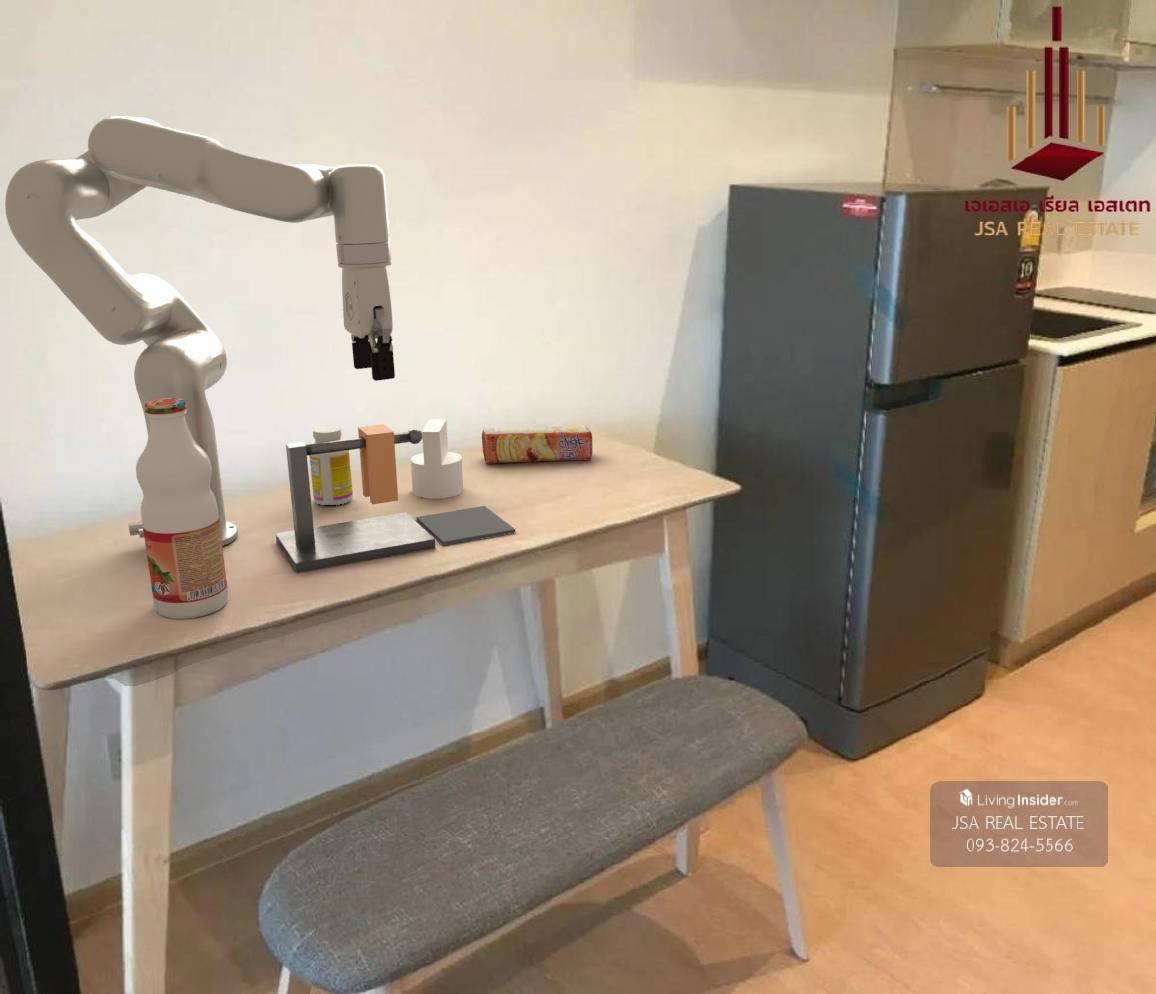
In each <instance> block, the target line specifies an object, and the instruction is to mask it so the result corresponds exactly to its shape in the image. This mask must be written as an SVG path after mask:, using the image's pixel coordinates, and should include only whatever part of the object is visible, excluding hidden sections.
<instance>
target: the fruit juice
mask: <svg viewBox="0 0 1156 994" xmlns="http://www.w3.org/2000/svg"><path fill="white" fill-rule="evenodd" d="M186 409H187V406H186V402H185V400H184V399H180V398H162V399H155V400H151V401H148V402H146V403H145V412H146V416H147V417H148V418H149V423H150V428H149V436H148V435H147V441H146V446H145V448H144V449H143V451H142V452H141V454H140V455H139V457H138V459H137V461H136V466H135V475H136V476H135V477H136V480H137V483H138V484H139V485H138V486H139V487H140V489H141V491H142V496H143V497H142V501H141V504H140V514H141V515H140V517H141V518H140V519H141V522H142V526H143V532H144V537H143V540H144V545H145V551H146V559H147V566H148V573H149V580H150V585H151V586H150V587H151V593H152V594H151V595H152V600H153V605H154V607H155V610H156V612H157V614H159V615H160V616H161V617H165V618H167V619H176V620H177V619H179V620H180V619H181V620H182V619H185V620H186V619H193V618H200V617H203V616H207V615H210V614H213V613H215V612H217V611H219V610H221V609H222V608H223V607H224V606H226V605H227V604H228V603H227V602H228V598H229V589H228V581H227V575H226V574H227V573H226V565H225V555H224V550H223V546H222V540H221V532H220V523H219V514H218V508H217V503H216V499H215V496H214V494H213V493H212V491H211V489H210V479H211V473H212V468H211V462H210V459H209V457H208V455H207V454H206V452H205V451H204V450H203V449H202V448H201V447H200V446H199V445H198V444H197V443H196V442H195V440H194V439H193V437H192V435H191V433H190V431H189V429H188V426H187V423H186V420H185V414H186V412H187V411H186Z"/></svg>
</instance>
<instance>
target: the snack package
mask: <svg viewBox="0 0 1156 994" xmlns="http://www.w3.org/2000/svg"><path fill="white" fill-rule="evenodd" d="M481 443H482V444H481V445H482V453H483V454H482V455H483V458H484V461H485V463H486V464H489V465H493V464H502V463H507V464H508V463H529V462H530V463H531V462H557V461H558V462H559V461H561V462H562V461H589V460H591V459H592V457H593V433H592V431H591V429H590V428H589V427H587V426H586V425H574V426H573V425H572V426H536V427H535V426H530V427H485V428H483V430H482V432H481Z"/></svg>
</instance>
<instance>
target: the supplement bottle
mask: <svg viewBox="0 0 1156 994" xmlns="http://www.w3.org/2000/svg"><path fill="white" fill-rule="evenodd" d="M312 433H313V435H312V437H313V439H314V443H313V444H316V443H324V442H332V441H340V440H342V434H343V433H342V428H341V427H340V426H337V425H336V426H335V425H328V426H327V425H325V426H319V427H316V428H314V429H313V430H312ZM350 458H351V457H350V450H346V451H339V452H331V453H324V454H316V455H309V466H310V475H311V485H312V486H311V487H312V496H313V500H314V502H315V503H316V504H317V505H319V504H320V506H323V505H336V506H341V505H340V504H342V505H345V504H348V503H349V502H351V501H352V500H353V497H354V494H353V493H354V491H353V484H352V483H353V482H352V471H351V459H350ZM347 502H348V503H347ZM344 503H345V504H344Z"/></svg>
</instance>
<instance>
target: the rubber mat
mask: <svg viewBox="0 0 1156 994" xmlns="http://www.w3.org/2000/svg"><path fill="white" fill-rule="evenodd" d="M415 519H416V520H415V521H416V522H417V523H418V524H419V525H420V526H421V527H422V528H424V529H425V530H426V531H427V532H428V533H429V534H430V535H431V536H432V537H433V538H434V539H435V540H437V542H439V543H440V544H441V545H442V546H443V547H444V546H449V545H454V544H460V543H466V542H471V541H477V540H481V539H482V538H483V539H487V538H488V537H489V538H494V537H499V535H500V536H504V534H506V535H509V533H511V534H515V533H516V528H515V527H513V526H512V525H510V523H508V522H507V521H505V520H504V519H503V518H501V517H500V516H498V515H497V514H496V513H495V512H493V511H492V510H491V509H490V508H488V507H486V506H485V505H481V506H475V507H469V508H464V509H456V510H451V511H445V512H438V513H433V514H427V515H420V516H416V518H415ZM514 532H515V533H514ZM493 536H494V537H493ZM483 539H482V540H483Z"/></svg>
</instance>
